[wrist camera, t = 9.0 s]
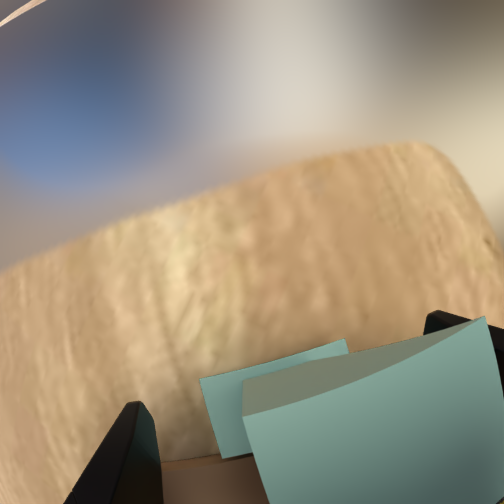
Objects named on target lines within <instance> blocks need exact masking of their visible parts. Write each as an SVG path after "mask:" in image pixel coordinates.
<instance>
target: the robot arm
mask: <svg viewBox="0 0 504 504" xmlns="http://www.w3.org/2000/svg"><path fill="white" fill-rule="evenodd" d="M468 321H471V319H467V318H464V317H461V316H457V315H454V314H450V313H447V312H444V311H440V310H436V311H433V312H431V313H429V314H428V315H427V317H426V322H425V327H424V332H423V335H427V334H430V333H434V332H437V331H440V330H444V329H447V328H450V327H453V326H456V325H459V324H462V323H465V322H468ZM487 325H488V324H487ZM488 329H489V332H490V336H491V340H492V344H493V348H494V352H495V356H496V360H497V365H498V370H499V375H500V380H501V385H502V391H503V397H504V329H502V328H498V327H495V326H491V325H488ZM63 504H164V498H163V484H162V470H161V462H160V456H159V450H158V444H157V438H156V431H155V424H154V420H153V418H152V416H151V415H150V413H149V412H148V410H147V409H146V407H145V405H144V404H143V403H142V402H141V401H133V402H128V403H127V404H126V405H125V407H124V408H123V410H122V411H121V413H120V414H119V416H118V418H117V419H116V421H115V422H114V424H113V425H112V427H111V428H110V430H109V432H108V433H107V435H106V436H105V438H104V439H103V441H102V443H101V444H100V446H99V447H98V449H97V450H96V452H95V454H94V455H93V457H92V458H91V460H90V462H89V463H88V465H87V466H86V468H85V470H84V471H83V473H82V474H81V476H80V478H79V479H78V481H77V482H76V484H75V486H74V487H73V489H72V492H70V494H69V495H68V497H67V499H66V500H65V502H64V503H63Z"/></svg>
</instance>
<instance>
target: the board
mask: <svg viewBox="0 0 504 504" xmlns="http://www.w3.org/2000/svg"><path fill="white" fill-rule="evenodd" d="M161 470H162V484H163V498H164V504H270V503H269V500H268V497H267V494H266V491H265V488H264V485H263V482H262V479H261V476H260V473H259V470H258V467H257V464H256V461H255V458H254V455H253V452H251V453H247V454H242V455H238V456H233V457H228V458H223V459H222V456H221V454H215V455H210V456H204V457H198V458H192V459H185V460H178V461H170V462H162V463H161Z"/></svg>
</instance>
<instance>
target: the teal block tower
mask: <svg viewBox="0 0 504 504" xmlns="http://www.w3.org/2000/svg"><path fill="white" fill-rule="evenodd" d="M199 381H200V385H201V389H202V392H203V396H204V400H205V403H206V407H207V410H208V414H209V417H210V421H211V424H212V427H213V431H214V434H215V437H216V441H217V444H218V447H219V450H220V453H221V456H222V459H223V458H228V457H233V456H238V455H242V454H247V453H251V452H253V455H254V458H255V461H256V464H257V467H258V470H259V473H260V476H261V479H262V482H263V485H264V488H265V491H266V494H267V497H268V500H269V503H270V504H496V503H497V502H498V501H499V500H500V499H501V498H503V497H504V397H503V391H502V385H501V380H500V375H499V370H498V365H497V360H496V356H495V352H494V348H493V344H492V340H491V336H490V332H489V329H488V325H487V322H486V318H485V316H483V317H480V318H477V319H474V320H471V321H468V322H465V323H462V324H459V325H456V326H453V327H450V328H447V329H444V330H440V331H437V332H434V333H430V334H427V335H423V336H420V337H416V338H412V339H409V340H405V341H401V342H397V343H393V344H389V345H385V346H381V347H377V348H372V349H368V350H363V351H359V352H354V353H349V350H348V347H347V344H346V341H345V338H344V339H341V340H338V341H335V342H332V343H329V344H326V345H323V346H320V347H317V348H314V349H311V350H308V351H304V352H301V353H298V354H295V355H291V356H288V357H284V358H281V359H278V360H274V361H270V362H267V363H263V364H259V365H256V366H252V367H248V368H244V369H240V370H236V371H232V372H228V373H223V374H219V375H215V376H210V377H206V378H201V379H199Z"/></svg>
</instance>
